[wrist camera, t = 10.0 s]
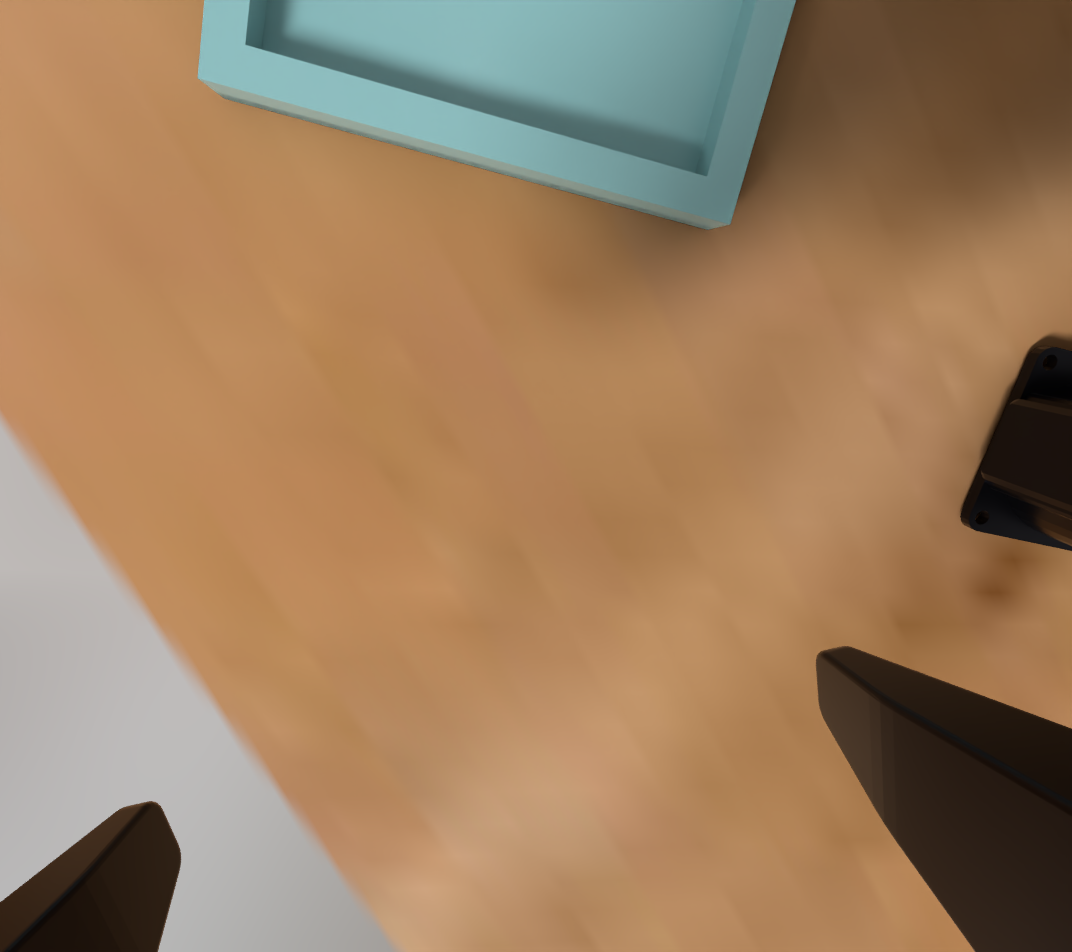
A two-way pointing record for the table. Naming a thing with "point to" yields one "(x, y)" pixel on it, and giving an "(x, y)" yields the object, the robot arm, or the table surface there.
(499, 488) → the table surface
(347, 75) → the tray
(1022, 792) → the robot arm
